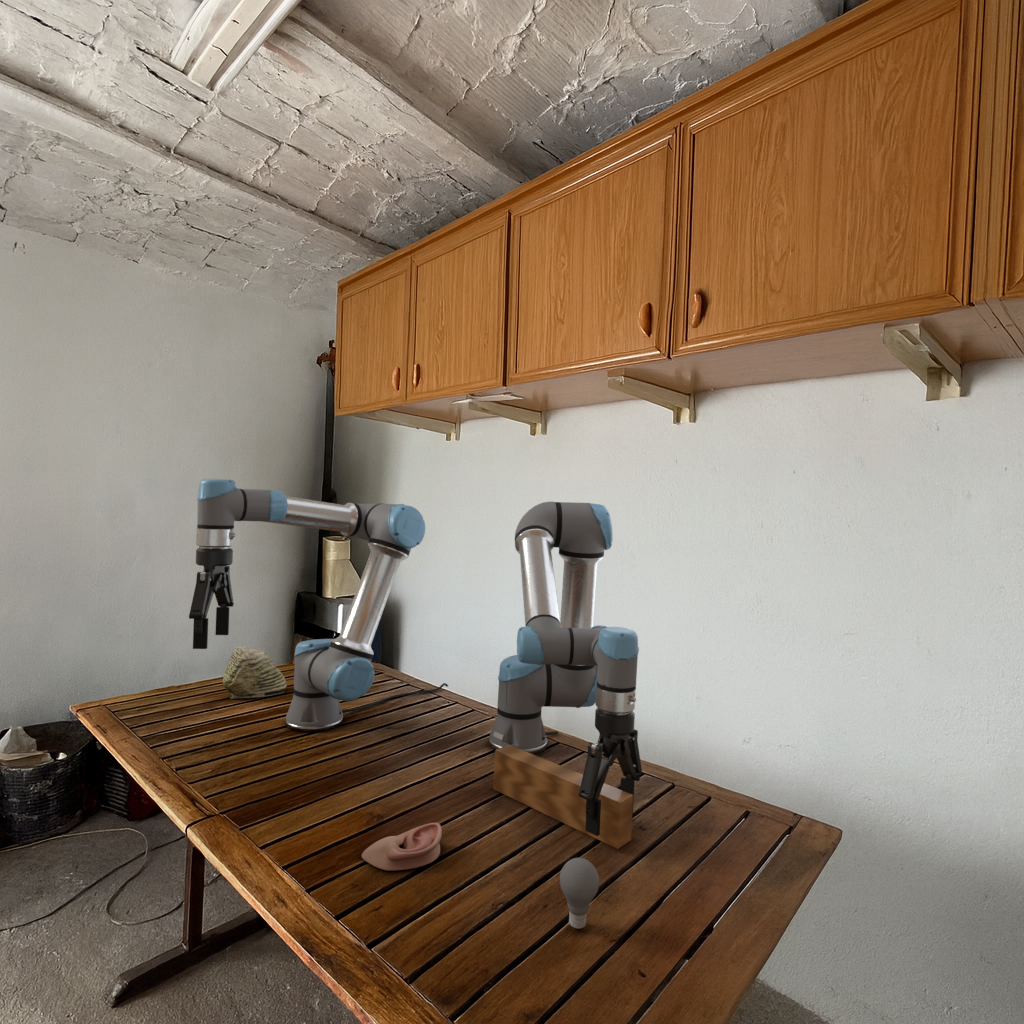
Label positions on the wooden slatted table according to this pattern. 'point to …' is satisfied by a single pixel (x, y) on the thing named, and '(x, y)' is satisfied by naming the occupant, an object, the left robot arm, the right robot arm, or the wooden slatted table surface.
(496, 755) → the bar
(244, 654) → the fossil
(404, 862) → the anatomical model
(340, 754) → the wooden slatted table surface
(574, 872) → the light bulb
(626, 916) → the wooden slatted table surface
